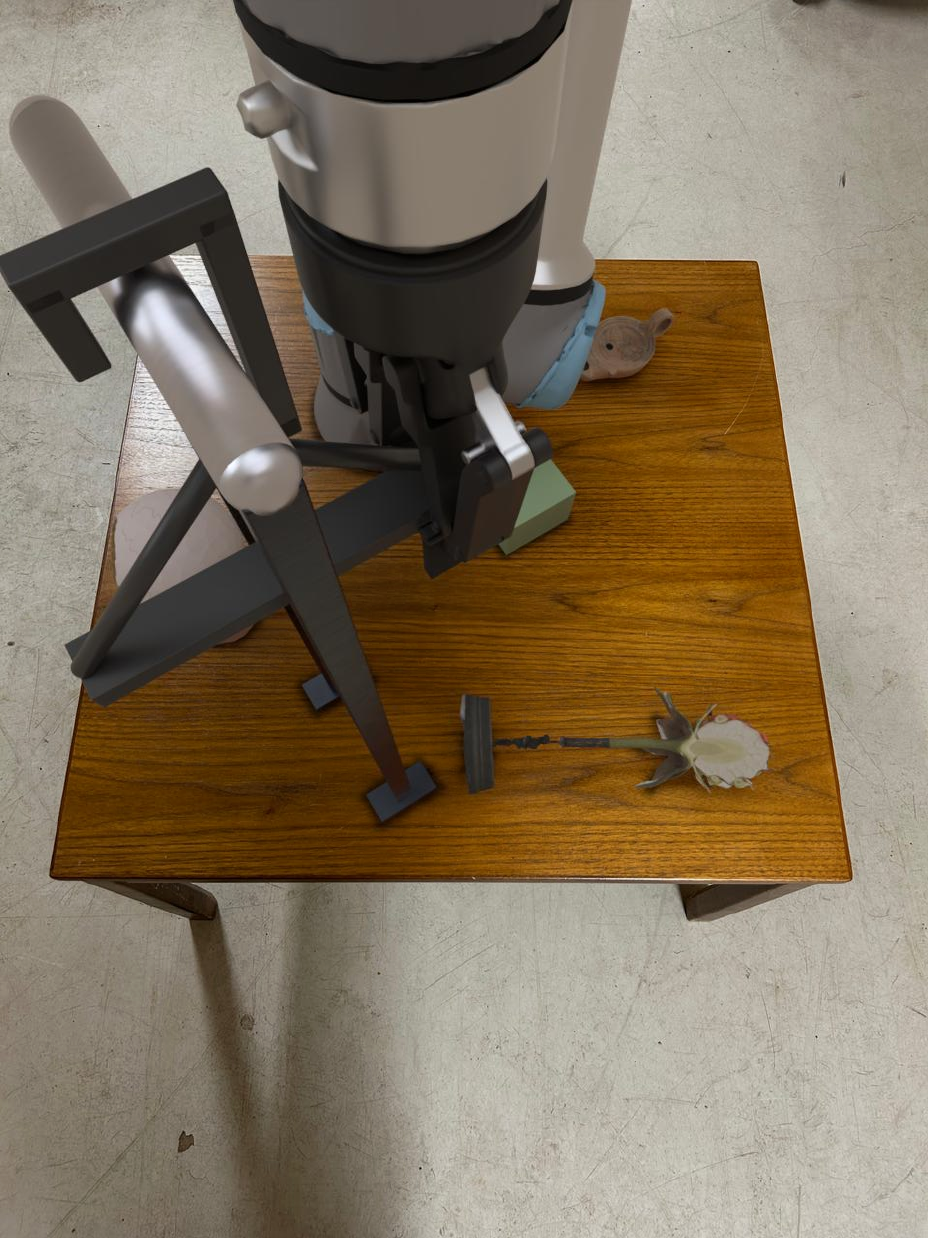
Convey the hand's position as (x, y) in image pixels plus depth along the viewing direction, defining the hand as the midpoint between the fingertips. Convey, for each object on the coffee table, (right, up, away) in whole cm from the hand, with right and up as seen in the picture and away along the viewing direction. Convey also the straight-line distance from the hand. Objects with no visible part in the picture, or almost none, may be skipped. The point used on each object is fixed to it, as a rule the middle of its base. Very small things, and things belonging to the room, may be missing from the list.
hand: (431, 535), depth 43 cm
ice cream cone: (-23, -4, +36) cm, 43 cm away
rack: (-7, -16, +32) cm, 37 cm away
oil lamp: (+20, +26, +48) cm, 58 cm away
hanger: (-7, -2, -6) cm, 9 cm away
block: (+8, +7, +41) cm, 42 cm away
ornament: (+16, -17, +33) cm, 40 cm away
